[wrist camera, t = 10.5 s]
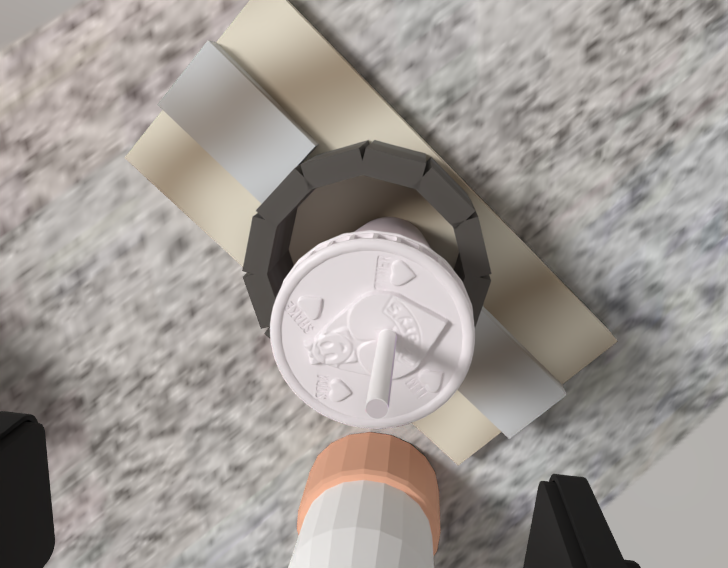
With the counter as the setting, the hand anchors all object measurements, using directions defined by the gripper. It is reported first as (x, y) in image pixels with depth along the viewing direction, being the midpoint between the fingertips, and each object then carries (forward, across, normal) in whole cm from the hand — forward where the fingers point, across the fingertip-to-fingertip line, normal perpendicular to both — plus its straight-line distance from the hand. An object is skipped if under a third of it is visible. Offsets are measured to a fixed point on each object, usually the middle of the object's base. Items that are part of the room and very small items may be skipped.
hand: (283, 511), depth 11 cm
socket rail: (+19, 0, -1) cm, 19 cm away
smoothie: (+17, -1, -1) cm, 17 cm away
